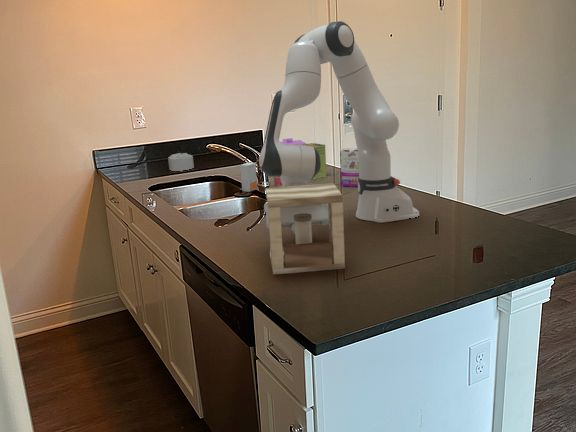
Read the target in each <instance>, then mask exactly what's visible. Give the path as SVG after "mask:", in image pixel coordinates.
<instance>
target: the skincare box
mask: <svg viewBox="0 0 576 432" xmlns="http://www.w3.org/2000/svg"><path fill="white" fill-rule="evenodd" d="M256 166H257V165H256V162H246V163H243V164H240V177H241V178H240V179H241V191H242V192H248V193H250V192H253V191H255V190H258V182H257V181H258V180H257V168H256Z"/></svg>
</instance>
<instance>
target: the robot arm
mask: <svg viewBox="0 0 576 432" xmlns="http://www.w3.org/2000/svg"><path fill="white" fill-rule="evenodd" d="M327 63H331V66H332V69H333V72H334V74H335V77H336V79H337V81H338V85H339V86H340V88H341V91H342V93H343V96H344V97H345V100H346V102H348V104H349V105H350V106H351V108H352V110H353V112H352V114H351V116H350V123H351V126H352V128H353V134H354V138H355V144H356V149H357V150H358V157H359V178H358V187H357V192H358V203H357V209H356V212H355V217H356V218H357V219H359V220H364V221H369V222H375V223H388V222H389V223H390V222H394V221H402V220H409V218H411V219H415V217H417V218H419V217H420V211H419V210H418V209H417V208H416V207H414V206H413V201H412V199H411V196H410V195H408V194H407V193H406V192H404V191H403V190H402V189H400V188H399V187H397V186H399V185H400V184H401V181H400V180H399V179H398V178H396V177H393V176H392V175H391V173H392V171H391V153H390V151H389V148H388V145H387V140H390V139H392V138H393V137H394V136H395V135H396V134H397V133H398V131H399V127H400V123H399V119H398V117H397V116H396V115H397V114H395V113H394V112H393V110H392V109H391V108H390V106H389V104H388V102H387V101H386V99H385V97H384V95H383V93H382V92H381V91H380V89H379V87H378V86H377V84H376V81H375V79H374V77H373V73H372V71H371V69H370V67H369V65H368V61H367V60H366V58H365V56H364V53H363V52H362V50H361V48H360V46H359V45H358V43H357V42H356V41H355V36H354V32H353V30H352V28H351V27H350V26H349V24H347V23H346V22H345V21H331V22H329V23H328V24H325V25H321V26H317V27H315V28H314V29H312V30H311V31H309V32H307V33H305V34H302V35H300V36H299V37H297V38H296V39H295V41H294V42H293V44H291V46H290V47H289V49H288V53H287V58H286V63H285V74H284V76H285V77H284V78H285V80H284V84H283V86H282V88H281V89H280V90H278V91H277V92H276V93H275V95H274V96H273V99H272V102H271V107H270V111H269V116H268V121H267V126H266V129H265V134H264V140H263V144H262V148H261V151H260V154H259V157H258V161H259V162H258V163H259V169H260V170H261V171H262V172H263V173H264V174H265V175H266V176H267V177H269V178H270V177H274V176H280V179H281V183H282V186H283V187H289V186H302V185H309V182H310V181H312V179H313V178H314V177H315V176H316V175H317V174H318V172H319V171H320V167H321V161H320V155H319V153H318V151H317V150H316V148H315V147H313V146H307V145H290V144H281V143H280V142H281V141H280V137H281V130H282V126H283V120H284V118H285V115H286V114H288V113H290V112H291V111H294V110H297V109H298V110H299V109H301V108H304V107H307V106H310V105H311V104H312V103H313V102H315V101H316V100H317V99H318V97H319V95H320V92H321V88H322V67H321V66H322V65H324V64H327ZM313 180H314V179H313ZM263 210H264V213H265V214H266V217H265V219H266V222H265V223H266V228H267V229H269V219H268V204H267V201H266V202H265V203H264V205H263ZM300 213H308V214H311V215H312V219H311V227H316V226H329V214H328V203H327V204H314V205H301V206H288V207H280V217H281V229H290V228H291V231H292V232H293V234H295V220H294V215H296V214H300ZM418 216H419V217H418Z"/></svg>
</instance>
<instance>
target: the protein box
mask: <svg viewBox="0 0 576 432" xmlns="http://www.w3.org/2000/svg"><path fill="white" fill-rule="evenodd" d="M303 145H307V146H313V147H315V148H316V150H317V151H318V153H319V155H320V161H321V167H320V171H319V172H318V174H317V175H316V176H315V177H314V178H313V179H312V180H317V178H318V179H323V178H327V157H326V156H327V155H326V153H327V152H326V144H321V143H317V142H310V143H306V144H303ZM322 177H323V178H322ZM312 180H311V181H312Z"/></svg>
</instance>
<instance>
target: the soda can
mask: <svg viewBox="0 0 576 432" xmlns="http://www.w3.org/2000/svg"><path fill="white" fill-rule="evenodd" d="M273 182H274V184H273V185H274V188H276V187H283V186H282V183H281V179H280V176H273Z"/></svg>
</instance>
